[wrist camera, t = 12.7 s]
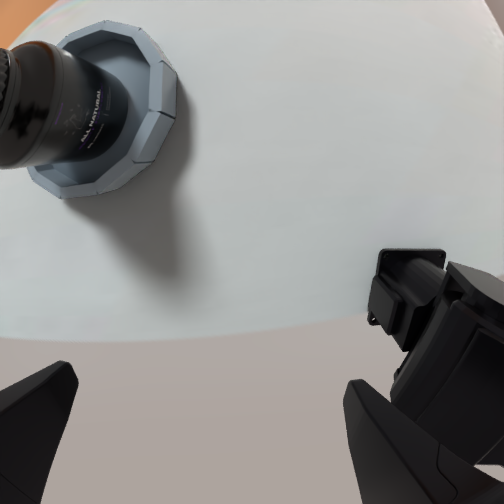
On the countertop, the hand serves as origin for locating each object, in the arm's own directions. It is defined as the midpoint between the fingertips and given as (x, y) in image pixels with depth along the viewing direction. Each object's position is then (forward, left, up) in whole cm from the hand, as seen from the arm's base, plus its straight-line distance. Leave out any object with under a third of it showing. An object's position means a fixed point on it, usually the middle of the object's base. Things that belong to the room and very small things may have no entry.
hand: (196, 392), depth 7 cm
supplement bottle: (+10, -11, -12) cm, 19 cm away
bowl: (+10, -11, -13) cm, 20 cm away
